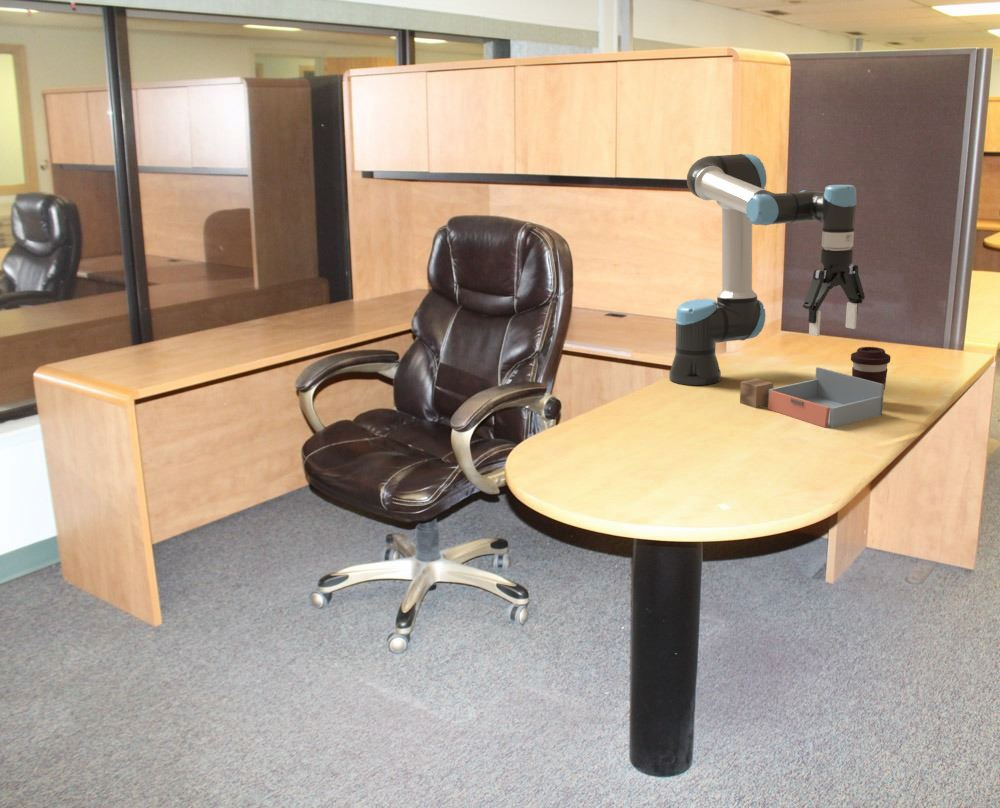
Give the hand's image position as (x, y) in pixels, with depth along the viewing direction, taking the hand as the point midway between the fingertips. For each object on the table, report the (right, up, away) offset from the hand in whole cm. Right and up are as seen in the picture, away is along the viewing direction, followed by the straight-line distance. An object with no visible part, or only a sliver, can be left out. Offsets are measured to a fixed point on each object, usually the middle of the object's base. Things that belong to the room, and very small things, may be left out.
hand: (832, 331), depth 259 cm
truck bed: (0, -21, +6) cm, 22 cm away
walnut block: (-16, -19, +15) cm, 29 cm away
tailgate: (-9, -22, +1) cm, 24 cm away
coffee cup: (+14, -19, +15) cm, 28 cm away
